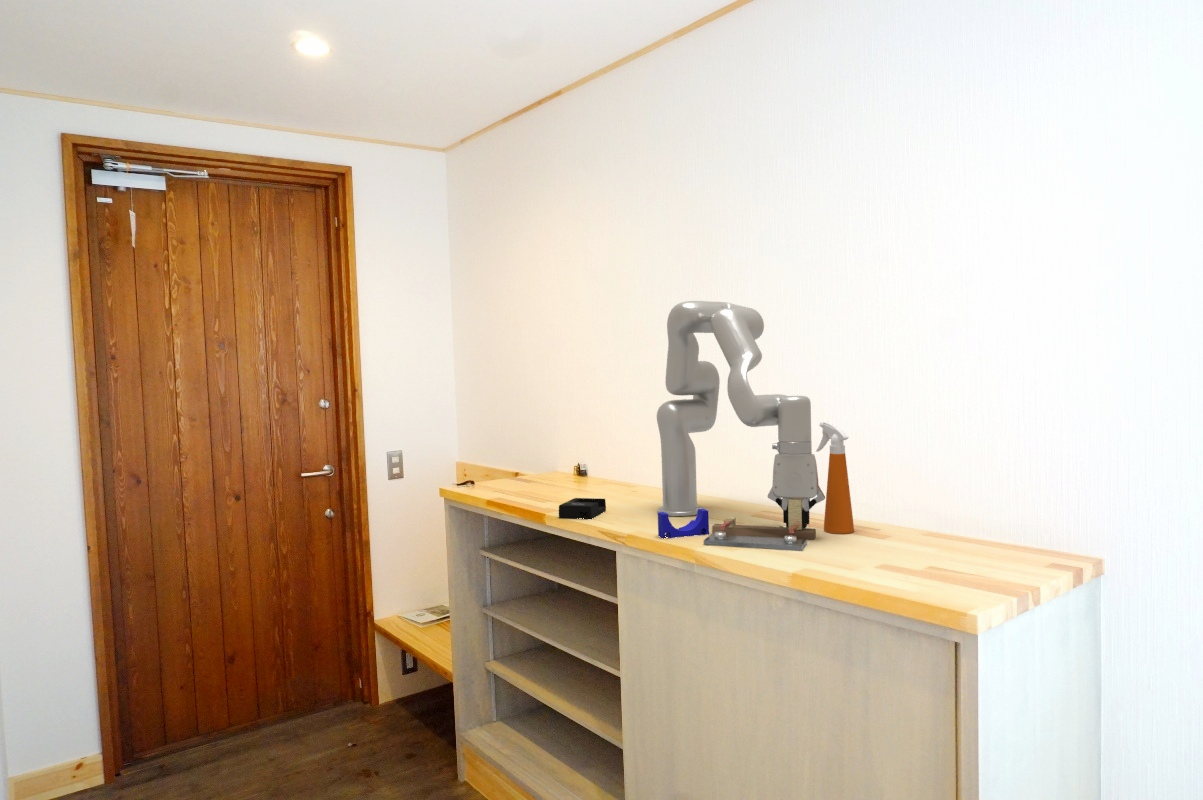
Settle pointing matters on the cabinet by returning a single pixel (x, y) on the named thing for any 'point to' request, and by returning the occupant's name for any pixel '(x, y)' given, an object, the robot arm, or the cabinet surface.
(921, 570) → the cabinet surface
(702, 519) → the cable clip
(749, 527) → the beam
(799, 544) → the bolt plate
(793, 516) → the slider
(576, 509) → the battery charger
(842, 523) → the spray bottle
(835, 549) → the cabinet surface
